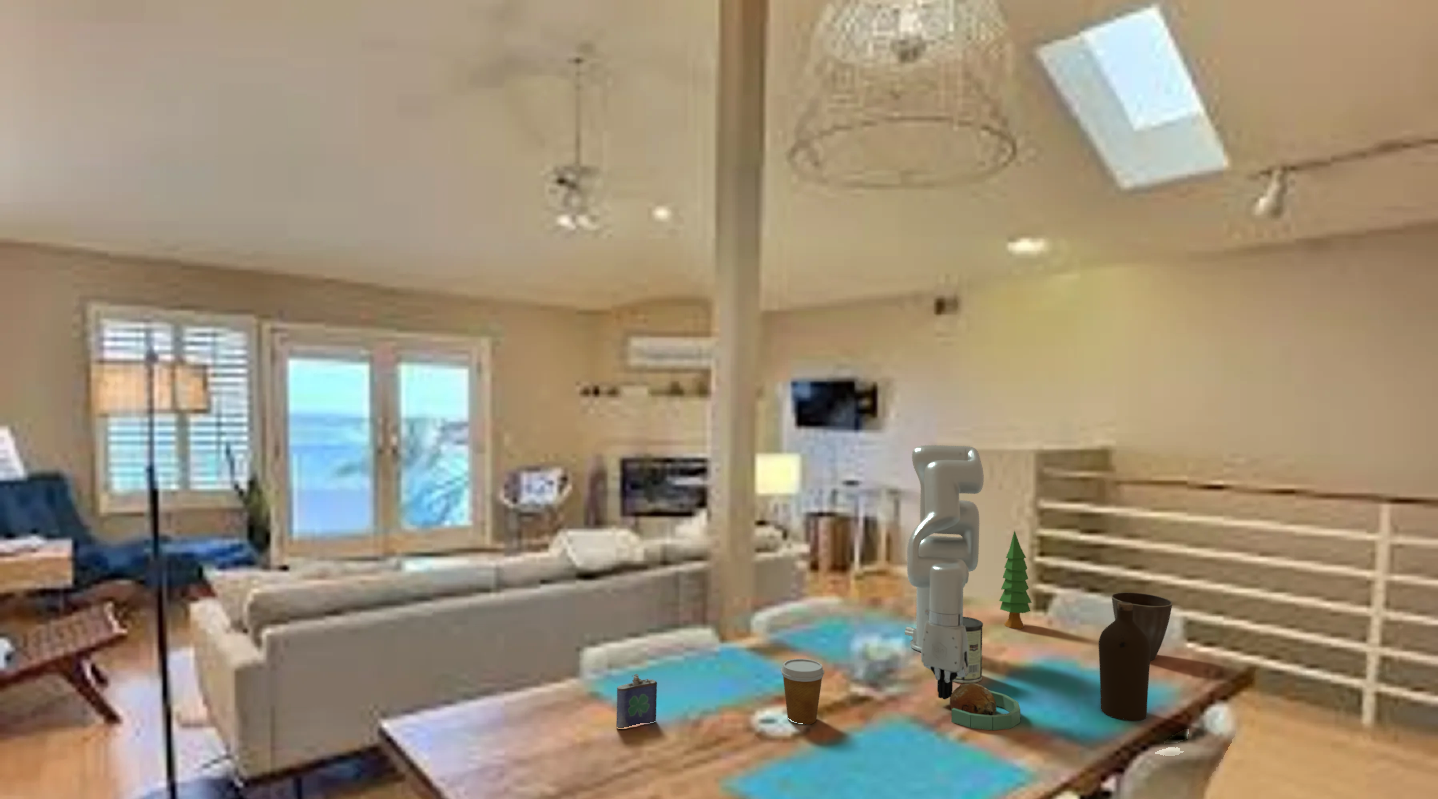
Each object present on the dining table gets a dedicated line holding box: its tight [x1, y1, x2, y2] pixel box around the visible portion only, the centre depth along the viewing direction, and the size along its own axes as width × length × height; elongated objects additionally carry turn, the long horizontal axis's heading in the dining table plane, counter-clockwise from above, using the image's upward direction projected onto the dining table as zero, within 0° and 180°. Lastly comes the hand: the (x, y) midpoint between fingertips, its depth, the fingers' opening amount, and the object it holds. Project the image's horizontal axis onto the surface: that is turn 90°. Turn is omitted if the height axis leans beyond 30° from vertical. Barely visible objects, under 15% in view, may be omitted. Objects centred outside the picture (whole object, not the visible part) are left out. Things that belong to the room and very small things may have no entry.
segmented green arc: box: [950, 689, 1021, 731], centre depth 183 cm, size 11×17×3 cm, turn 136°
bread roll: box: [949, 683, 997, 715], centre depth 186 cm, size 10×10×8 cm
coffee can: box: [945, 616, 984, 684], centre depth 209 cm, size 10×10×14 cm
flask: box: [616, 673, 658, 728], centre depth 177 cm, size 9×3×11 cm, turn 121°
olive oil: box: [1098, 602, 1151, 722], centre depth 186 cm, size 11×11×25 cm
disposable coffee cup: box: [780, 658, 825, 726], centre depth 181 cm, size 10×10×12 cm
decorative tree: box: [998, 530, 1032, 630], centre depth 256 cm, size 10×9×30 cm
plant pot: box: [1111, 591, 1173, 661], centre depth 227 cm, size 15×15×16 cm
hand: (944, 697), depth 190 cm, fingers closed
